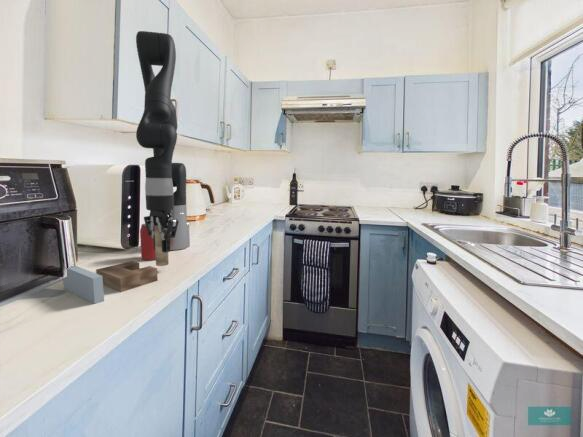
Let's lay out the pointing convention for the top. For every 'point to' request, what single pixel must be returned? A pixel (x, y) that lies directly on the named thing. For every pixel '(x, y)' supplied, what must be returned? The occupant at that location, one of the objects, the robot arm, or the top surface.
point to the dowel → (160, 249)
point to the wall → (84, 284)
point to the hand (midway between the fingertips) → (161, 250)
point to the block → (127, 275)
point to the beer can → (146, 244)
